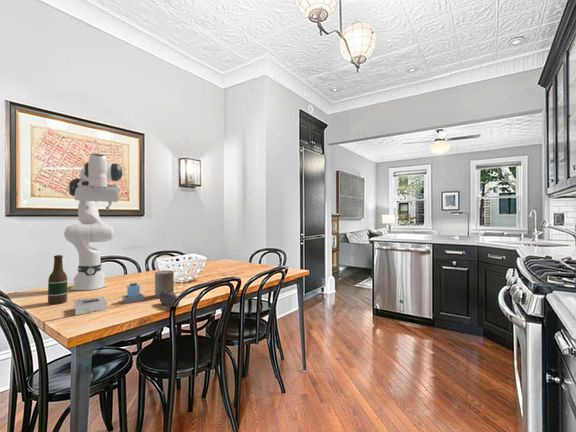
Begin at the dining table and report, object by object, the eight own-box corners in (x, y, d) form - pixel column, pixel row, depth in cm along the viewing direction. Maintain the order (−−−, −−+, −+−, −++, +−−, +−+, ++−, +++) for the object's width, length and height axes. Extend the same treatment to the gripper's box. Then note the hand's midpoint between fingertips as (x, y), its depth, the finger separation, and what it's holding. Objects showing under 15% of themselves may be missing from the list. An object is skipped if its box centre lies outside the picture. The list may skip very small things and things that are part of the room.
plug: (126, 300, 158) (127, 283, 158) (137, 299, 161) (138, 282, 161) (128, 302, 155) (128, 284, 155) (139, 300, 158) (139, 283, 159)
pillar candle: (176, 294, 174) (176, 268, 174) (168, 299, 164) (168, 271, 165) (160, 294, 175) (160, 268, 175) (151, 298, 165) (151, 270, 165)
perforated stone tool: (182, 308, 148) (182, 294, 148) (172, 311, 144) (172, 296, 144) (168, 302, 158) (168, 289, 158) (158, 304, 155) (158, 290, 155)
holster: (122, 301, 158) (122, 295, 158) (140, 299, 164) (140, 293, 164) (125, 304, 153) (125, 298, 153) (144, 302, 158) (144, 296, 158)
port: (74, 308, 145) (74, 300, 145) (103, 304, 153) (103, 296, 153) (75, 315, 136) (75, 306, 136) (106, 310, 143) (106, 301, 143)
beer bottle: (70, 301, 158) (71, 254, 158) (55, 305, 150) (56, 256, 150) (59, 300, 160) (60, 254, 160) (43, 304, 152) (44, 255, 153)
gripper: (118, 185, 172) (118, 210, 172) (74, 182, 159) (73, 209, 159) (120, 185, 167) (120, 210, 167) (75, 181, 154) (74, 209, 154)
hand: (97, 209), depth 163 cm, fingers open, 8 cm apart
